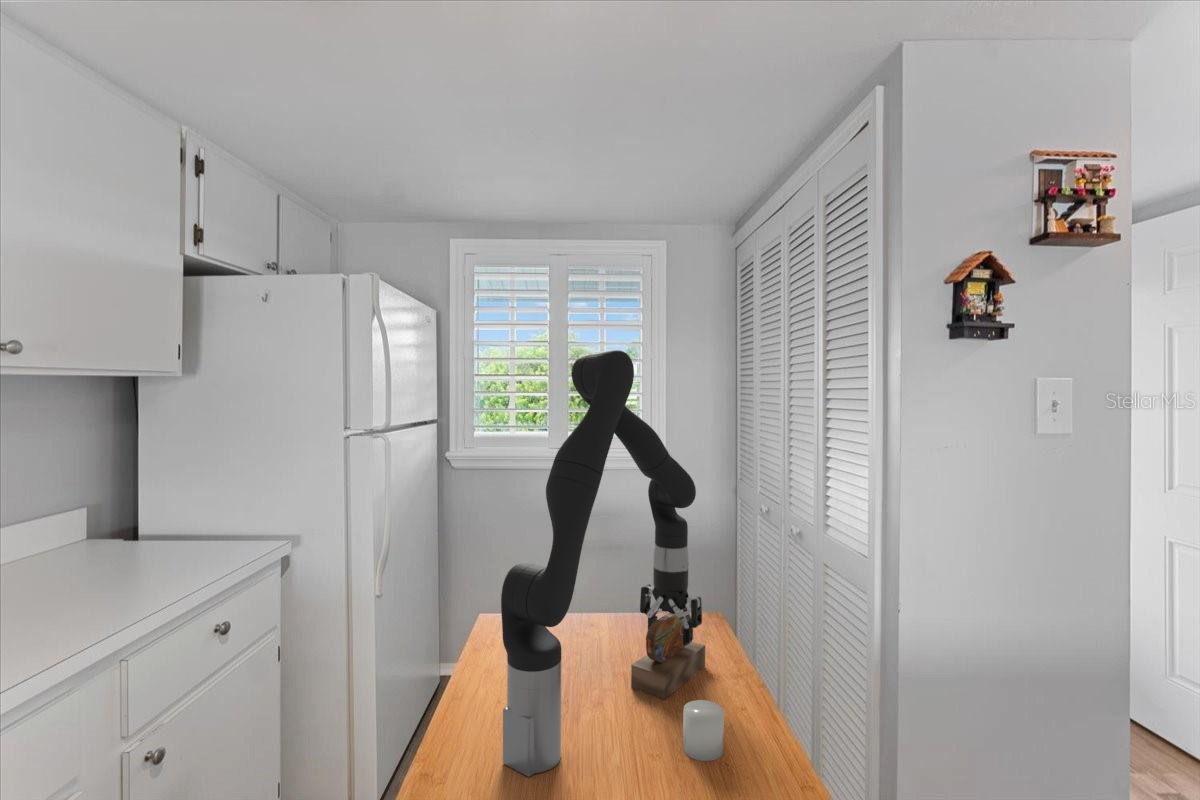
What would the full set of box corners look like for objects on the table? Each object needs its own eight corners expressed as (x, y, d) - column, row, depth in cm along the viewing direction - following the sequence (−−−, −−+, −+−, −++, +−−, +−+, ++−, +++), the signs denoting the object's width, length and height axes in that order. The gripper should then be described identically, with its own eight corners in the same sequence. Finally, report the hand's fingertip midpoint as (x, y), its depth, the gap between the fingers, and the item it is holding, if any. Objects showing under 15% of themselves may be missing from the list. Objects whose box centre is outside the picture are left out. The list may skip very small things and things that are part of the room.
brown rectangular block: (663, 700, 127) (664, 676, 127) (631, 688, 132) (631, 664, 132) (704, 667, 142) (705, 645, 141) (674, 657, 146) (674, 636, 146)
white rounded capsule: (712, 766, 106) (713, 725, 106) (676, 751, 110) (676, 712, 110) (729, 746, 112) (730, 707, 111) (694, 733, 116) (694, 696, 115)
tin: (655, 669, 130) (656, 629, 129) (642, 664, 132) (643, 625, 131) (691, 644, 142) (691, 607, 141) (678, 640, 144) (679, 604, 143)
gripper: (633, 563, 137) (633, 636, 138) (691, 576, 128) (690, 654, 129) (652, 555, 143) (651, 625, 144) (708, 567, 134) (707, 641, 135)
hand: (669, 638), depth 136 cm, fingers open, 8 cm apart
